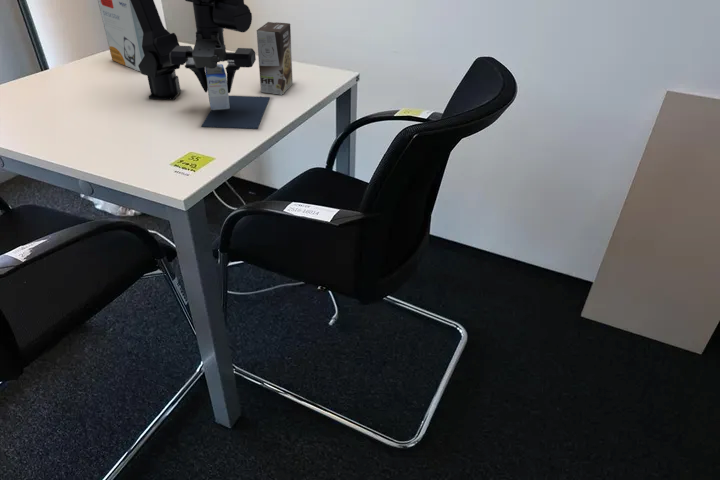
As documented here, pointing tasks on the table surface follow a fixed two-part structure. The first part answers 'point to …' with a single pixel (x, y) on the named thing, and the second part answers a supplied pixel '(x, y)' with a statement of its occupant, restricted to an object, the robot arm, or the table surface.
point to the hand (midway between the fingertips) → (217, 92)
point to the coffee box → (275, 57)
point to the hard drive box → (122, 32)
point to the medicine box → (217, 87)
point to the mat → (238, 113)
